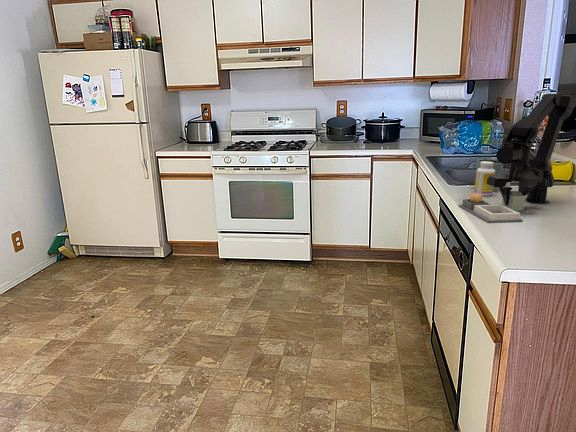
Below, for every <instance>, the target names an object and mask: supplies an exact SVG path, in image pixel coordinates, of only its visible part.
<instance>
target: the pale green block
mask: <svg viewBox="0 0 576 432" xmlns="http://www.w3.org/2000/svg"><path fill="white" fill-rule="evenodd" d="M526 197H527V195H526V196H525V195H522V194H521V192H518V190H511V191H510V196H509V203H508V205H505V203H504V200H503V199H502V201H501V205H503V206H505V207H507V208H510V209H512V210H514V211H524V209H525V204H526V200H525V198H526Z"/></svg>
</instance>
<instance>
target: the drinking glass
mask: <svg viewBox="0 0 576 432" xmlns="http://www.w3.org/2000/svg"><path fill="white" fill-rule="evenodd" d="M482 161H488V162H493V163H494V164H493V167H492V168H493V169H494V170H495V176H500V177H502V172H503V169H504V165H505V164H502V163H500V162H499V161H498V160H497V158H495V159H494V158H480V159H477V161H476V170H477V169H479V168H480V167H481V166H480V163H481V162H482ZM493 191H495V192H498V191H499V187H493Z"/></svg>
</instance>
